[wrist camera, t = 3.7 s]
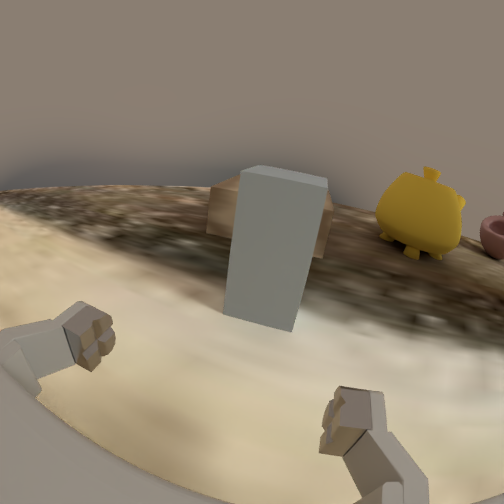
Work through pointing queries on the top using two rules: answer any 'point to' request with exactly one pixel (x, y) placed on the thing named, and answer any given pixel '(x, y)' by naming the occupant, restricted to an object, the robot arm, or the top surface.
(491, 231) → the mortar and pestle
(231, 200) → the maple block
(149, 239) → the top surface
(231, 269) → the gray block
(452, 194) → the teapot
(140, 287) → the top surface
